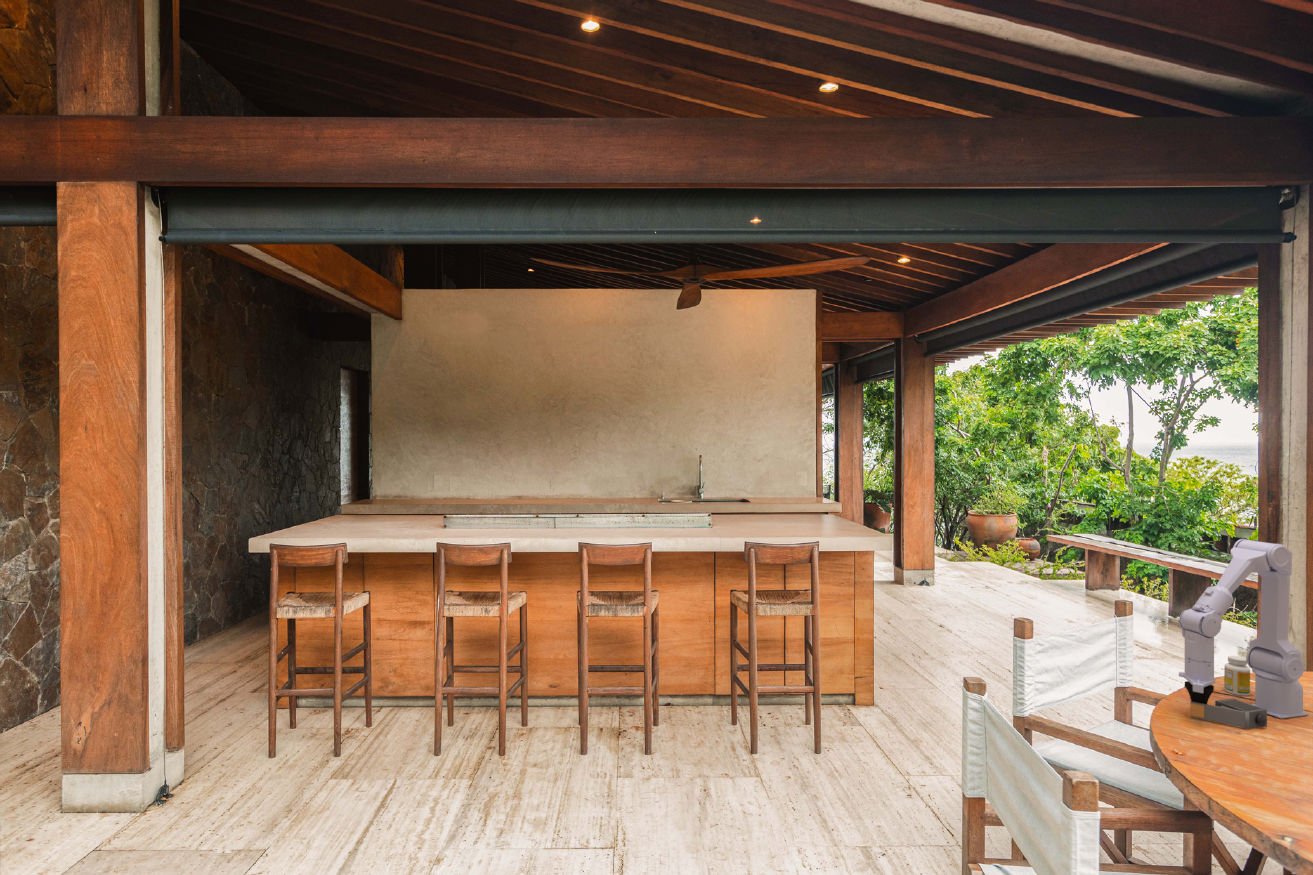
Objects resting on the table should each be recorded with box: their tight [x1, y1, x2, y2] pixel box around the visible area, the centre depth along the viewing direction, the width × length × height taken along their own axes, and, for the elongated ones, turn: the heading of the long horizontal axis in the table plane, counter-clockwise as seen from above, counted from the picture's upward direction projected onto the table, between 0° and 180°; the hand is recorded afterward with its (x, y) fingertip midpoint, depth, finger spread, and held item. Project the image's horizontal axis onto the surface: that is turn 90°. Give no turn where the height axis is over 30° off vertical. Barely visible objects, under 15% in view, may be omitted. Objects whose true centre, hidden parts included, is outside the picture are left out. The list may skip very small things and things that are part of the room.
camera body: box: [1214, 697, 1268, 730], centre depth 163 cm, size 6×8×4 cm
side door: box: [1190, 700, 1250, 730], centre depth 162 cm, size 1×11×4 cm, turn 51°
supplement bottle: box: [1223, 655, 1251, 697], centre depth 182 cm, size 5×5×10 cm
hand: (1199, 713), depth 165 cm, fingers closed
